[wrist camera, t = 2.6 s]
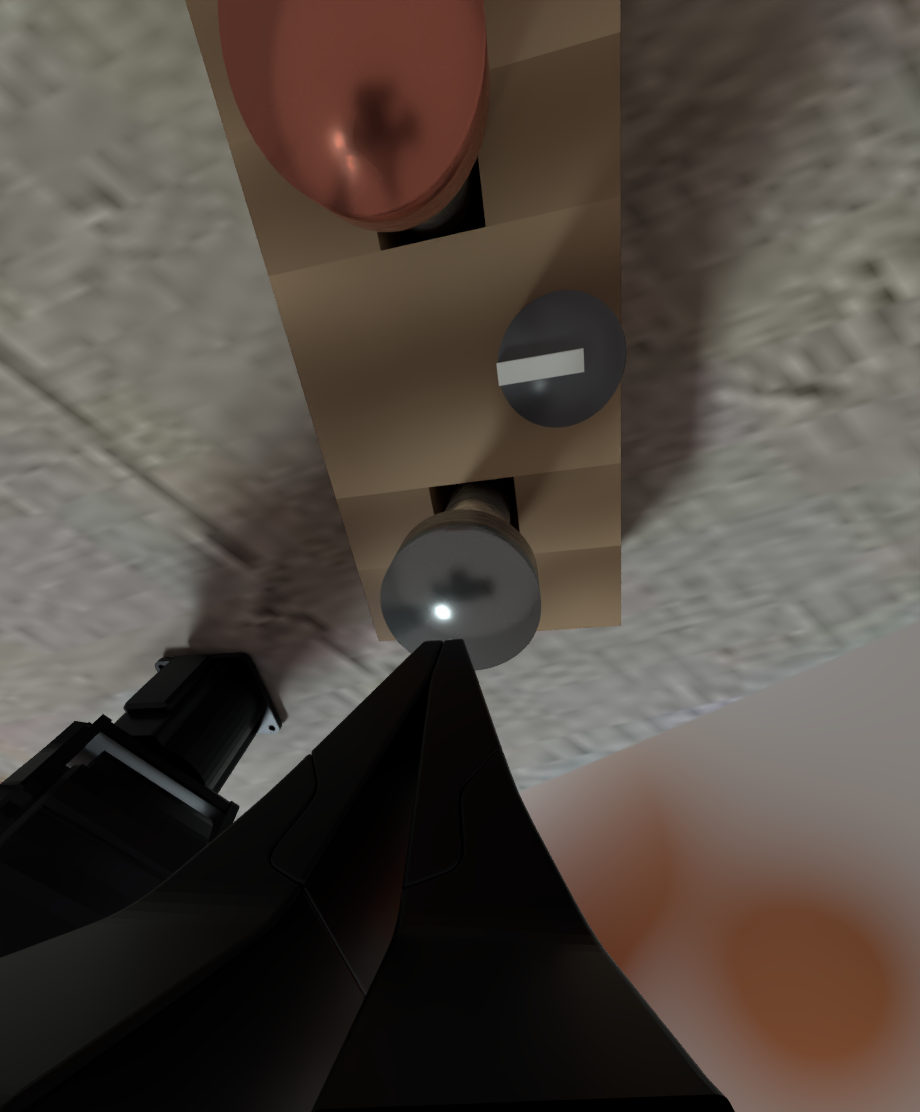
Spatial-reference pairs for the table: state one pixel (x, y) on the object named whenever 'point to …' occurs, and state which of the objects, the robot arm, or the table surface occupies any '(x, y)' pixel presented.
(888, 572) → the table surface
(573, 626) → the mount
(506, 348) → the dial
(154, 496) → the table surface
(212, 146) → the table surface
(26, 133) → the table surface
